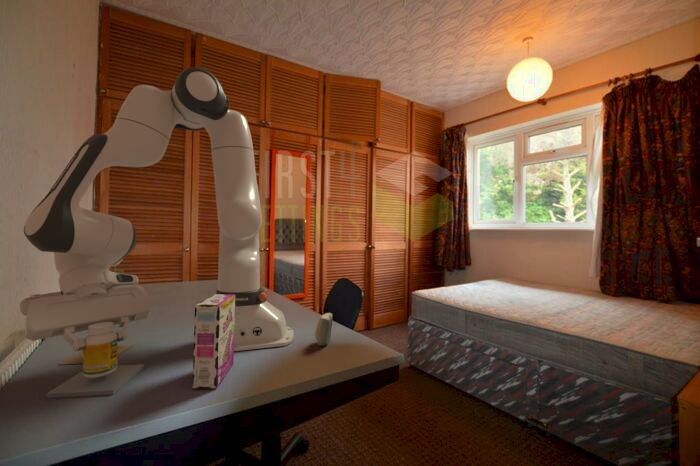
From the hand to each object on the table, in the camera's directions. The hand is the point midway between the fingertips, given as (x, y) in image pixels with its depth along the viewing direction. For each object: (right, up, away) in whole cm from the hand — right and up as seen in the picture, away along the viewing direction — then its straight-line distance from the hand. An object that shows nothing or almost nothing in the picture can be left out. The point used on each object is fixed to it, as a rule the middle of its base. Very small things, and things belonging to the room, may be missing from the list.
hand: (102, 344), depth 61 cm
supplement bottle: (-1, -6, 0) cm, 6 cm away
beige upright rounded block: (+43, -8, +23) cm, 49 cm away
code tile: (-12, -7, +13) cm, 19 cm away
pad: (-1, -8, 0) cm, 8 cm away
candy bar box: (+21, -8, +3) cm, 23 cm away
